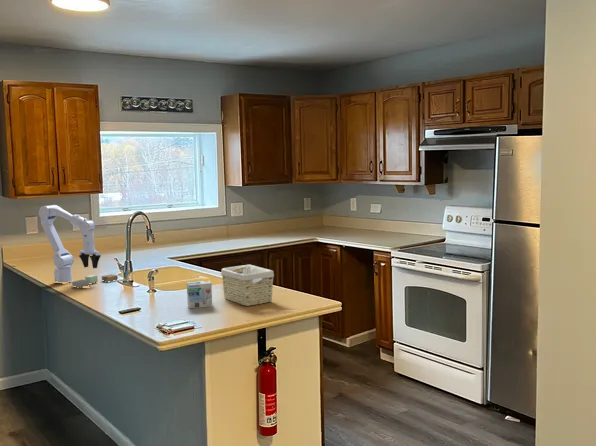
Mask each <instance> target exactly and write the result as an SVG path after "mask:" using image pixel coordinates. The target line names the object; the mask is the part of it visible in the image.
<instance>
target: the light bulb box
mask: <svg viewBox="0 0 596 446" xmlns="http://www.w3.org/2000/svg"><path fill="white" fill-rule="evenodd" d="M212 289H213V288H212V282H211V280H209V279H208V280H199V281H188V282H186V290H187V291H186V292H187V293H186V294H187V297H186V298H187V306H188V309H199V308H209V307H210V308H211V307H213V290H212Z"/></svg>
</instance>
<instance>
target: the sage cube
mask: <svg viewBox="0 0 596 446" xmlns="http://www.w3.org/2000/svg"><path fill="white" fill-rule="evenodd" d="M84 280H89V283H94V282H98V275H94V274H91V275H85V277H84ZM98 283H99V282H98Z"/></svg>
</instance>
